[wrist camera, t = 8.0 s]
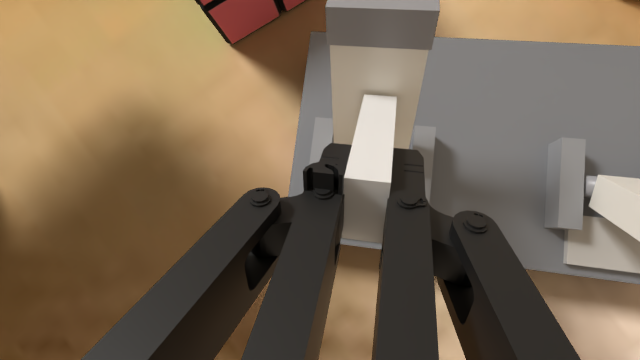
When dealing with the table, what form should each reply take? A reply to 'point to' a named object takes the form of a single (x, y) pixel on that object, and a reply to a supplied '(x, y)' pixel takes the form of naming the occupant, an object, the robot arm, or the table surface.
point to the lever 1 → (378, 59)
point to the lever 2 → (616, 200)
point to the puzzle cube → (243, 15)
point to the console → (513, 142)
